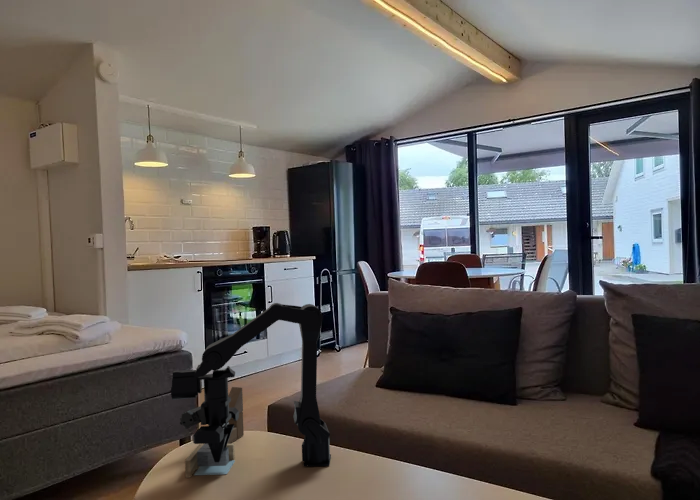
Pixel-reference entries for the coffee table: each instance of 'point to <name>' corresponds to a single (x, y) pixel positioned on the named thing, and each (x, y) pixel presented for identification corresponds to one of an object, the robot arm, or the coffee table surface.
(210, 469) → the pad
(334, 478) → the coffee table surface
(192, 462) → the corner walls
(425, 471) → the coffee table surface
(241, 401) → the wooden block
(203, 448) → the bracket
